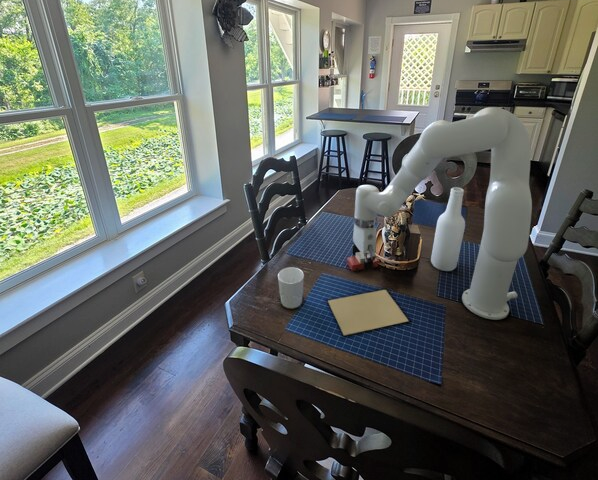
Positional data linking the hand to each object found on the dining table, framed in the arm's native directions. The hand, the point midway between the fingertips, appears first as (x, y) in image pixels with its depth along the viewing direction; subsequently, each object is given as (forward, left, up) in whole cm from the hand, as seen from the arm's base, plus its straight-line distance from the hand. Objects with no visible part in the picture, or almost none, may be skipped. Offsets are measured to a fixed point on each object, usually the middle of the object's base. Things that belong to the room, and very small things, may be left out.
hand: (361, 261), depth 117 cm
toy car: (0, 0, -2) cm, 2 cm away
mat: (+8, +21, -2) cm, 23 cm away
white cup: (+29, +11, -2) cm, 31 cm away
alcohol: (-29, +7, -2) cm, 30 cm away
